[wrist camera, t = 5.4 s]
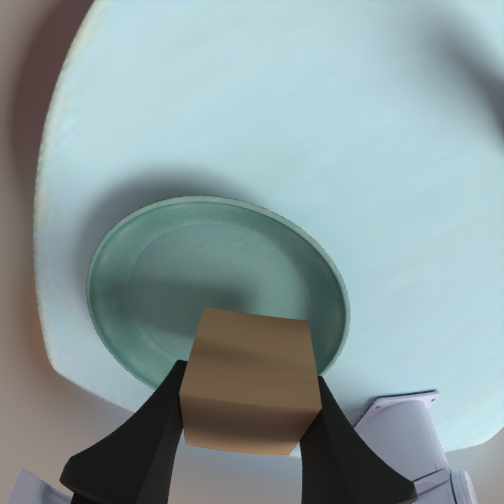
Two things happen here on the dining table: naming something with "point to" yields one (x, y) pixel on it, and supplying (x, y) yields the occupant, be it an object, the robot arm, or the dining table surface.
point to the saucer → (208, 280)
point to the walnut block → (249, 383)
